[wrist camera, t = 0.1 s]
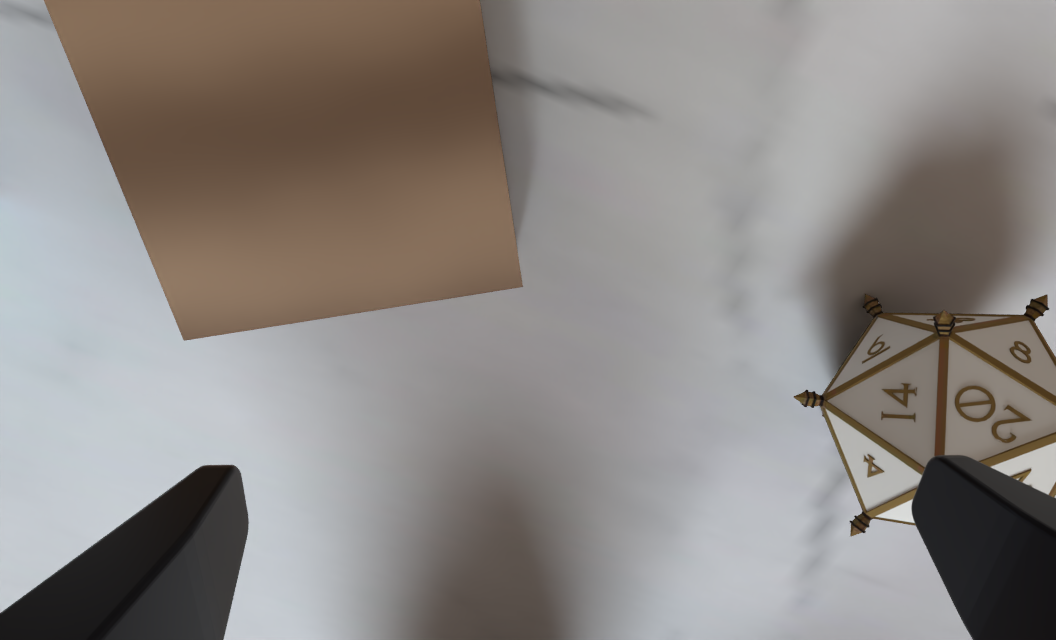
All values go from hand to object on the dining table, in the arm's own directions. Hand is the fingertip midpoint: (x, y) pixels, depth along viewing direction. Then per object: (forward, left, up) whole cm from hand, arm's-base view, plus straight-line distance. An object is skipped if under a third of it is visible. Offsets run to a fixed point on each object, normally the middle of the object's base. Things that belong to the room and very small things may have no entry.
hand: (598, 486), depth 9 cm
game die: (-6, -14, -15) cm, 22 cm away
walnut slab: (+2, +6, -15) cm, 16 cm away
